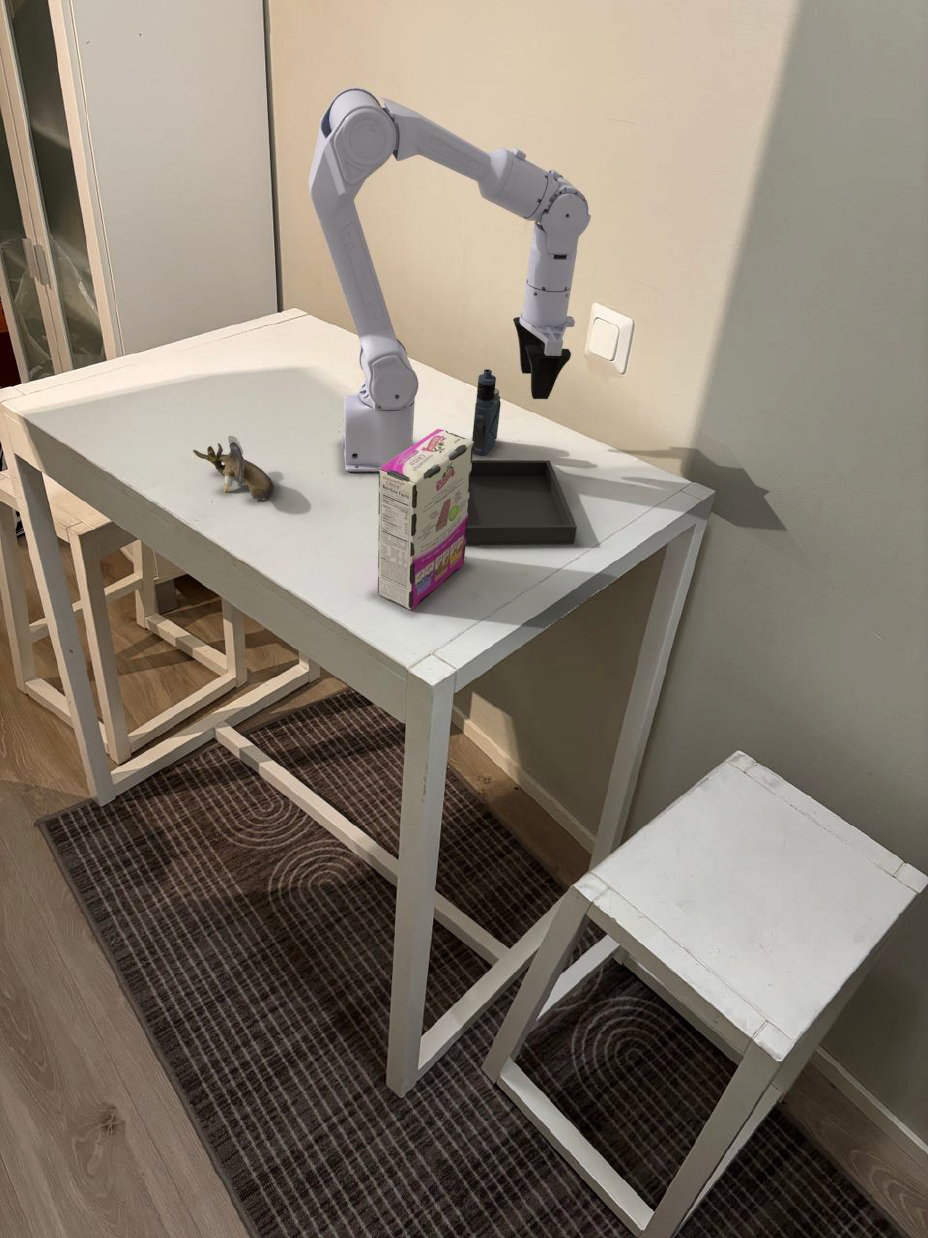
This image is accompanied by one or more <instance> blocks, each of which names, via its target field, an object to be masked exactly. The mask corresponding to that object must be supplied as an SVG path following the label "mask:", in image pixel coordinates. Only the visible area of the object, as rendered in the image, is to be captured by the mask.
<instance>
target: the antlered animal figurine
mask: <svg viewBox="0 0 928 1238" xmlns="http://www.w3.org/2000/svg"><path fill="white" fill-rule="evenodd" d="M227 439H228V440H227V441H228V444H229V445H228V446H229V450H230V451H229V452H228V453H227V454H224V453H223V451H224V449H223V447H222V444H221V443H219V442H218V443H217V447H218V448H217V452H215V450H214V448H213V447H212V445H208V447H207V449H206V453H207V454H205V453H202V452H199V451H198V450H197V449H192V452H193V454H195V456H196V457H198V458H200V459H202V460H206V461H208V462H210V463H211V465H213V466H214V468H215V470H217V472H218V473H219V474H221V475H223V474H224V488H223V492H224V493H226V492H228V490H229V489H230V488H232V486H233V482H234V479H235V477H236V478H238V481H239V483H240V484H242V483H243V481H244V482H245V483H246V485H247V487H248V489H249V493H250V496H251V497H252V499H253V500H257V501H263V502H265V501H267V500H270V499H271V497H272V496H273V493H274V492H275V485H274V482H273V480H272V479H271V477H269V475H268V474H267V473H266V472H265V471H264V470H263V469H262V468H260V467H259V466H258V465H256V464H254V463H253V462H251V461H249V460H247V459H245V458H244V456H243V455H244V450H243V447H242V446H241V443H240V441H239V440H238V438H237V437H236V436H235V435H228V436H227ZM222 463H224V464H222Z"/></svg>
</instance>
